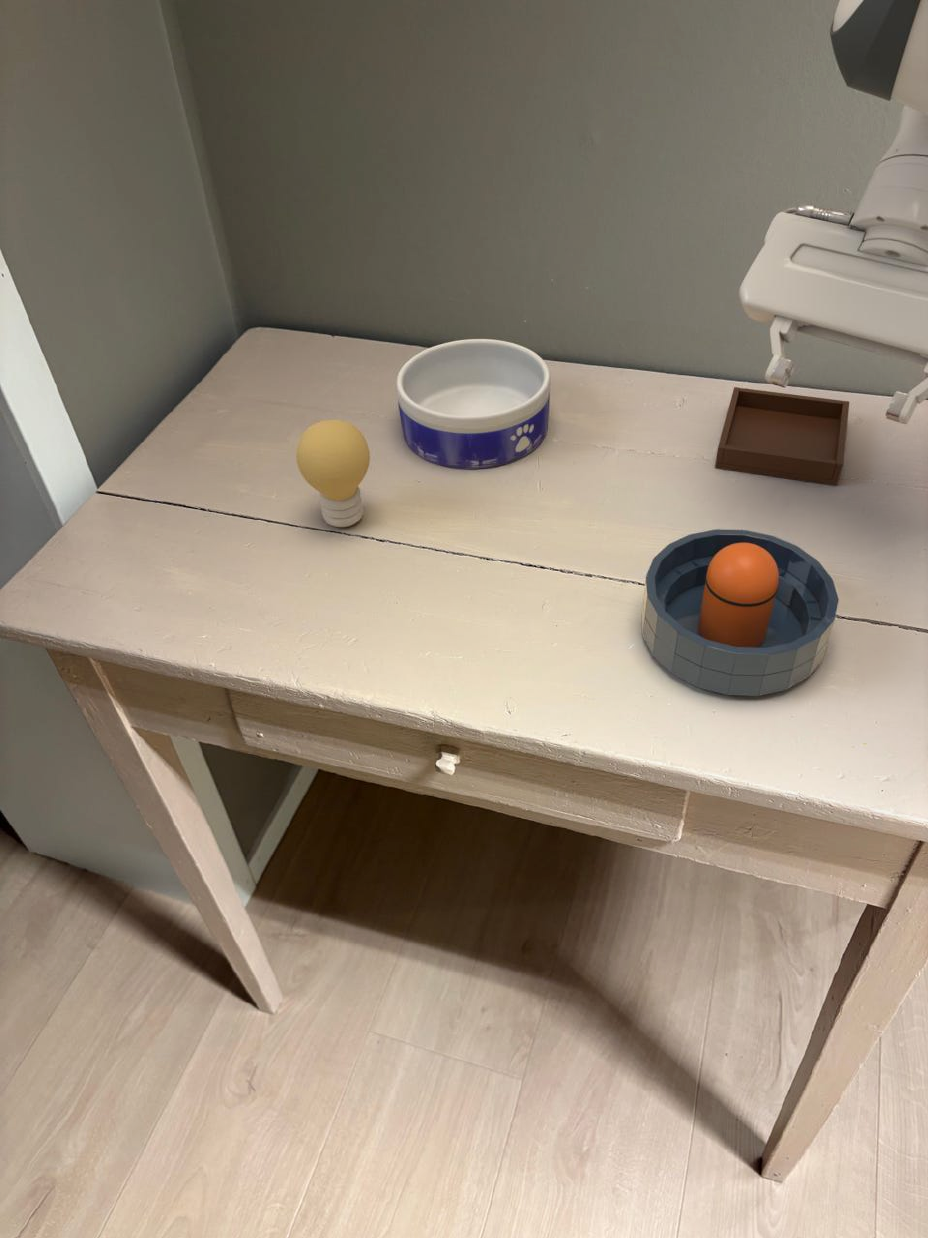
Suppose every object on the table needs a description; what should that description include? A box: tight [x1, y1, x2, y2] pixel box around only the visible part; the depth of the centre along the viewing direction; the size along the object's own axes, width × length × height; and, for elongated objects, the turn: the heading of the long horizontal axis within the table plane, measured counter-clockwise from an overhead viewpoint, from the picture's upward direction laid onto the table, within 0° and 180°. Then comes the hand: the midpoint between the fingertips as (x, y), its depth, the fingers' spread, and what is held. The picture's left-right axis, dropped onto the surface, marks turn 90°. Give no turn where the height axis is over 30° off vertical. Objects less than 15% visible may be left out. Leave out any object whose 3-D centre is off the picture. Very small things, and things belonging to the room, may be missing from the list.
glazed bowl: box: [640, 528, 839, 697], centre depth 74 cm, size 14×14×5 cm
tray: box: [714, 386, 850, 487], centre depth 93 cm, size 11×11×2 cm
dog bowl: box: [396, 338, 551, 470], centre depth 97 cm, size 15×15×6 cm
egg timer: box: [698, 543, 779, 648], centre depth 73 cm, size 5×5×8 cm
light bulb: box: [296, 419, 371, 528], centre depth 85 cm, size 6×6×10 cm
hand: (833, 400), depth 72 cm, fingers open, 8 cm apart
